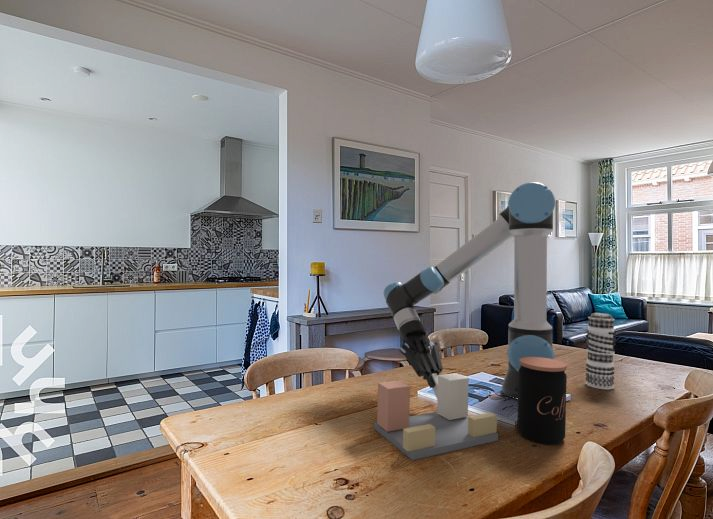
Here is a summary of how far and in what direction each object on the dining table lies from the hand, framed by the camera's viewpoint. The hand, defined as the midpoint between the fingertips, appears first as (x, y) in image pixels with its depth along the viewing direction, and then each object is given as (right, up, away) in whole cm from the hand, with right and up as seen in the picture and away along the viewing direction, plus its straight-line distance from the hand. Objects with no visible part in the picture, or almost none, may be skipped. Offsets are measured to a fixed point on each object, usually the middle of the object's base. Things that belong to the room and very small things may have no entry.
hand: (441, 397), depth 108 cm
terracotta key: (-14, -3, -12) cm, 19 cm away
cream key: (+2, -3, -4) cm, 5 cm away
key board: (-4, -5, -12) cm, 13 cm away
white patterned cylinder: (+62, -7, +31) cm, 69 cm away
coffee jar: (+22, -6, -11) cm, 25 cm away
